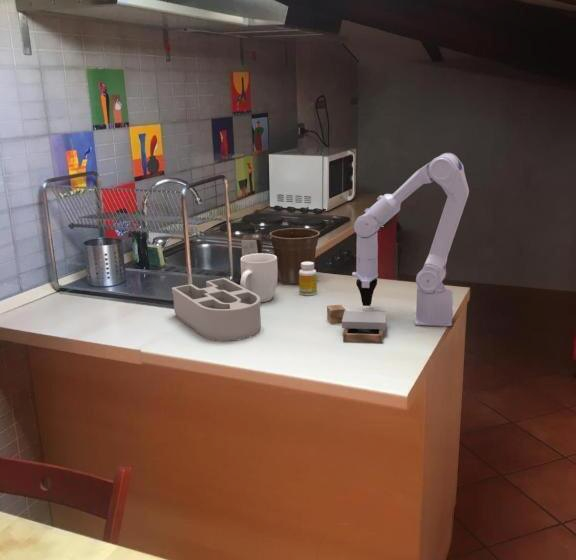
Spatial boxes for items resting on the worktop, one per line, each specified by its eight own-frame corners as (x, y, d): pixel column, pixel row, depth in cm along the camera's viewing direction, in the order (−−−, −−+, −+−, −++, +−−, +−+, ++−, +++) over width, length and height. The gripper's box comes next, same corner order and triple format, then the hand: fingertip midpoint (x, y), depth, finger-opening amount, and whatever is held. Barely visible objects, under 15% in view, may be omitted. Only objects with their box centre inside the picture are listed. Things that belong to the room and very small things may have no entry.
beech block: (341, 318, 175) (341, 304, 174) (345, 323, 171) (345, 309, 170) (327, 319, 174) (326, 305, 173) (330, 324, 171) (330, 310, 170)
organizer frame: (383, 323, 170) (383, 316, 169) (382, 343, 157) (382, 335, 156) (347, 322, 171) (347, 315, 171) (343, 341, 158) (343, 334, 158)
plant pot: (318, 272, 220) (317, 226, 215) (322, 286, 204) (321, 237, 199) (271, 274, 219) (269, 228, 215) (271, 288, 204) (269, 239, 199)
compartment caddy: (226, 305, 189) (224, 277, 187) (273, 333, 166) (271, 302, 164) (173, 316, 181) (171, 287, 179) (215, 347, 158) (212, 314, 156)
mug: (259, 311, 183) (257, 267, 179) (227, 305, 188) (225, 263, 184) (285, 296, 195) (283, 255, 191) (254, 292, 200) (253, 251, 197)
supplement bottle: (315, 296, 194) (314, 265, 192) (298, 295, 195) (297, 265, 193) (318, 290, 199) (317, 260, 197) (301, 290, 200) (300, 260, 198)
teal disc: (370, 328, 167) (370, 323, 167) (370, 333, 164) (370, 328, 164) (358, 328, 168) (358, 323, 167) (357, 332, 165) (357, 327, 164)
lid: (386, 318, 168) (386, 312, 167) (385, 329, 160) (385, 322, 160) (344, 317, 169) (344, 311, 169) (341, 328, 162) (341, 321, 161)
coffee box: (263, 288, 204) (260, 239, 199) (242, 288, 204) (240, 239, 199) (264, 280, 212) (262, 233, 208) (245, 280, 213) (242, 233, 208)
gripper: (354, 251, 180) (354, 296, 184) (350, 264, 166) (350, 313, 170) (379, 251, 179) (378, 297, 183) (377, 264, 165) (376, 314, 169)
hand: (366, 305), depth 176 cm, fingers closed
